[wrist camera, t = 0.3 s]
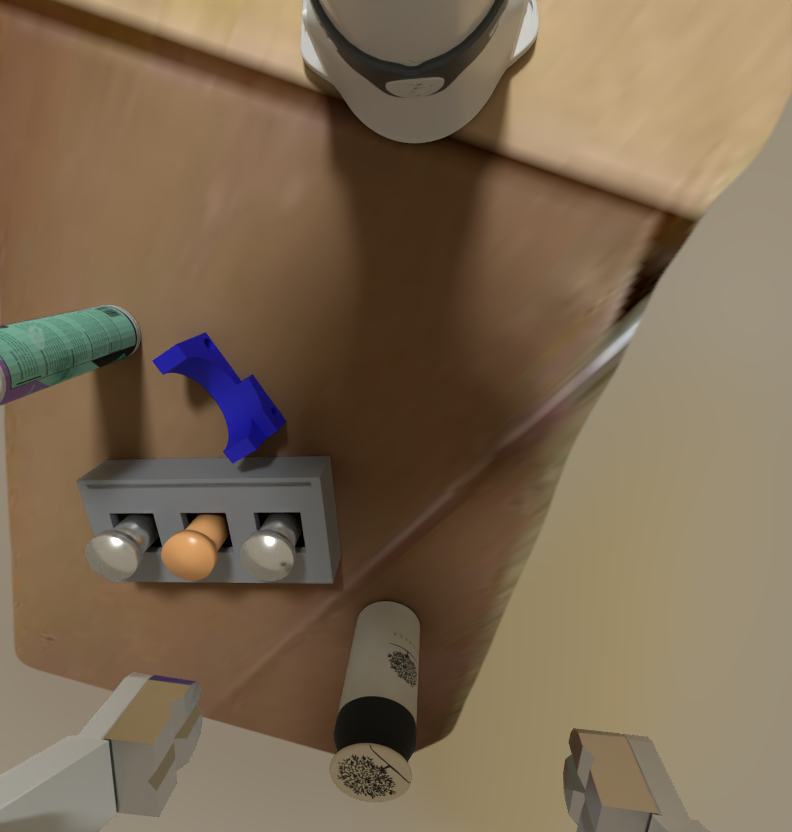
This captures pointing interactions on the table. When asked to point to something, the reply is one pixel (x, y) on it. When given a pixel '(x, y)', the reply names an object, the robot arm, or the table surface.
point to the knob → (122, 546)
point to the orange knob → (196, 547)
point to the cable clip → (226, 393)
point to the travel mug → (378, 705)
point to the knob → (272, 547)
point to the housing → (220, 508)
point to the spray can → (62, 348)
